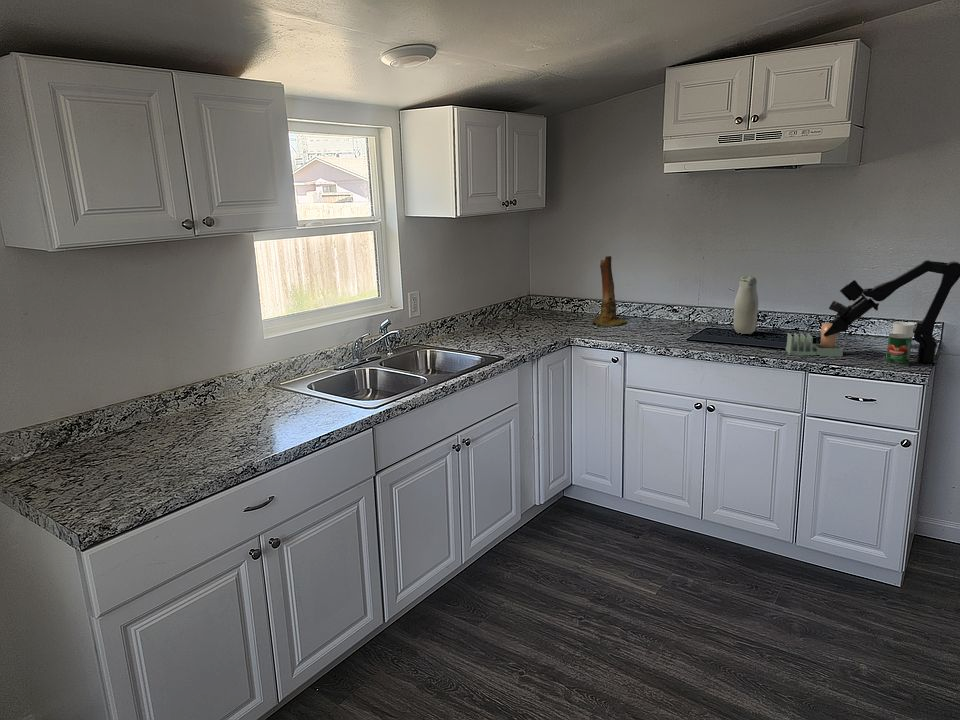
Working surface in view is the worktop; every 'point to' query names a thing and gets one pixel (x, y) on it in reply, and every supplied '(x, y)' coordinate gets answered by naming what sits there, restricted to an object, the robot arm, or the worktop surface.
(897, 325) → the white cup
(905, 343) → the canned tomato
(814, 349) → the dish rack
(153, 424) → the worktop surface
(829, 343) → the orange rounded blob
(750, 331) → the glass bottle
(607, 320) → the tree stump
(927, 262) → the robot arm
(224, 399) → the worktop surface
